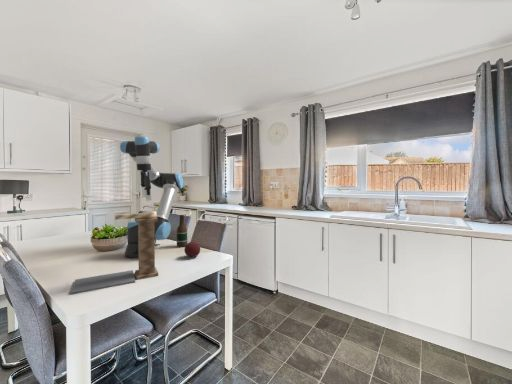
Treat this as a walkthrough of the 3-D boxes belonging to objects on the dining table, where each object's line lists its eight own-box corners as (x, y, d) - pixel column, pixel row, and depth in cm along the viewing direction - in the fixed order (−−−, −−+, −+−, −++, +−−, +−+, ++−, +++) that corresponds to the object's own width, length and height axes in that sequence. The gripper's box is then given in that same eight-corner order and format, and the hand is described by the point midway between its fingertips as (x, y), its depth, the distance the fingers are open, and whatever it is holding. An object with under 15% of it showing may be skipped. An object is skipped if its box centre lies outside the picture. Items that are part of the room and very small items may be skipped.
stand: (136, 279, 118) (136, 220, 117) (135, 273, 127) (134, 217, 126) (158, 275, 124) (158, 218, 122) (155, 269, 132) (155, 216, 131)
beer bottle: (178, 245, 184) (178, 214, 183) (188, 244, 184) (188, 214, 183) (175, 247, 176) (175, 215, 175) (186, 247, 177) (186, 215, 176)
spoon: (115, 221, 114) (115, 215, 113) (115, 219, 120) (114, 213, 119) (157, 218, 124) (157, 212, 123) (155, 216, 129) (155, 211, 129)
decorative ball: (202, 255, 159) (202, 240, 158) (195, 260, 149) (195, 244, 149) (189, 254, 161) (189, 239, 161) (181, 258, 151) (181, 243, 151)
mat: (70, 294, 102) (70, 292, 102) (75, 281, 116) (75, 279, 116) (135, 282, 115) (135, 280, 115) (132, 271, 129) (132, 270, 129)
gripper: (154, 163, 131) (157, 201, 134) (146, 162, 152) (149, 195, 155) (139, 164, 127) (143, 202, 130) (133, 163, 148) (136, 196, 151)
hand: (146, 198), depth 143 cm, fingers open, 13 cm apart
